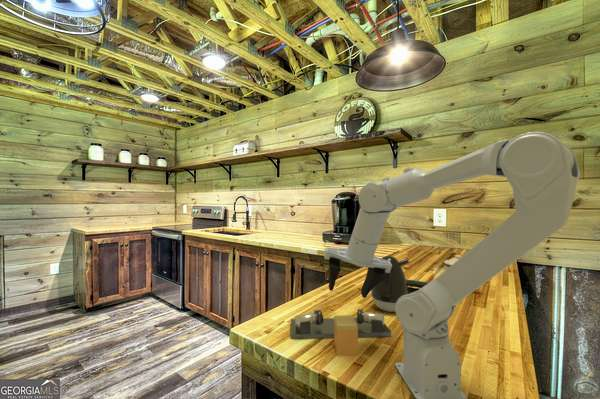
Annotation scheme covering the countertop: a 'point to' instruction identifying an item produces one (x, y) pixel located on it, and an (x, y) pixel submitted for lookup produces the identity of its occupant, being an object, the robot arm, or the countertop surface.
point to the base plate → (328, 330)
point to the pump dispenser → (391, 286)
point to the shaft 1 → (308, 321)
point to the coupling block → (345, 335)
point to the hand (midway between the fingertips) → (346, 291)
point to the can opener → (415, 285)
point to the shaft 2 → (371, 320)
